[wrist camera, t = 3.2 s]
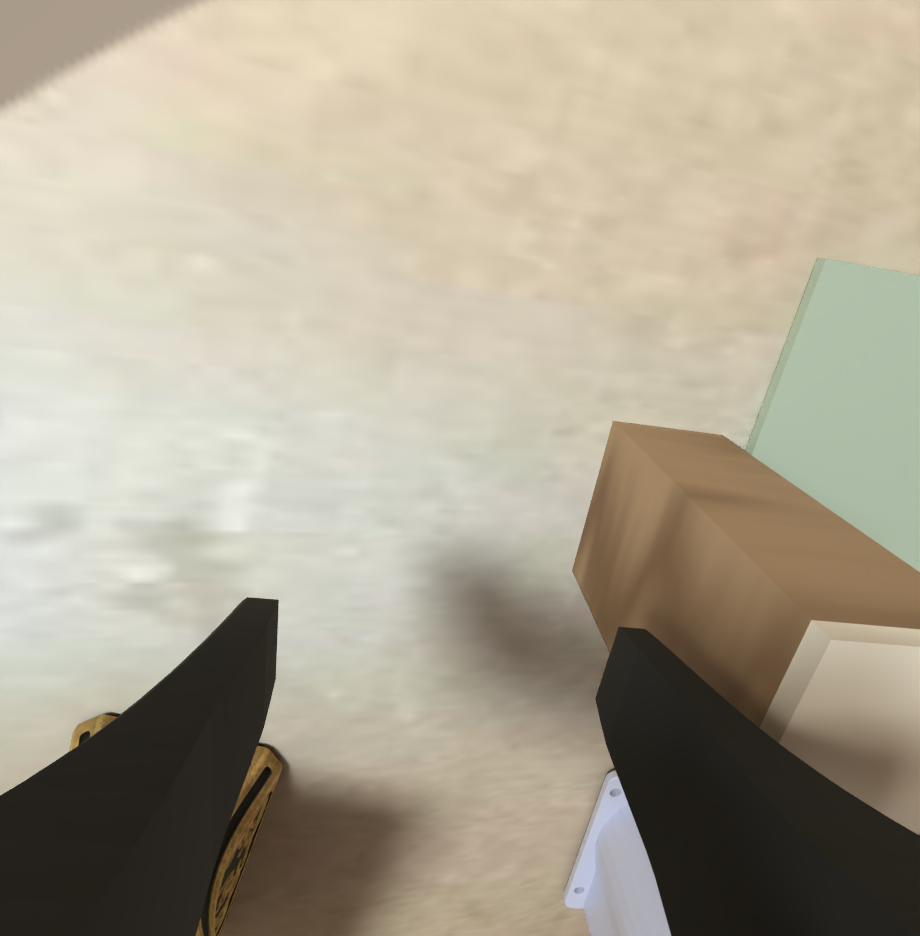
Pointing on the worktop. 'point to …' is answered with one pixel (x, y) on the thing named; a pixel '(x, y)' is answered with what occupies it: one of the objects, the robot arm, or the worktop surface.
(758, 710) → the tan rectangular block
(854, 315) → the green pad
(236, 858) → the decorative box
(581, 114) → the worktop surface
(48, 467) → the worktop surface
